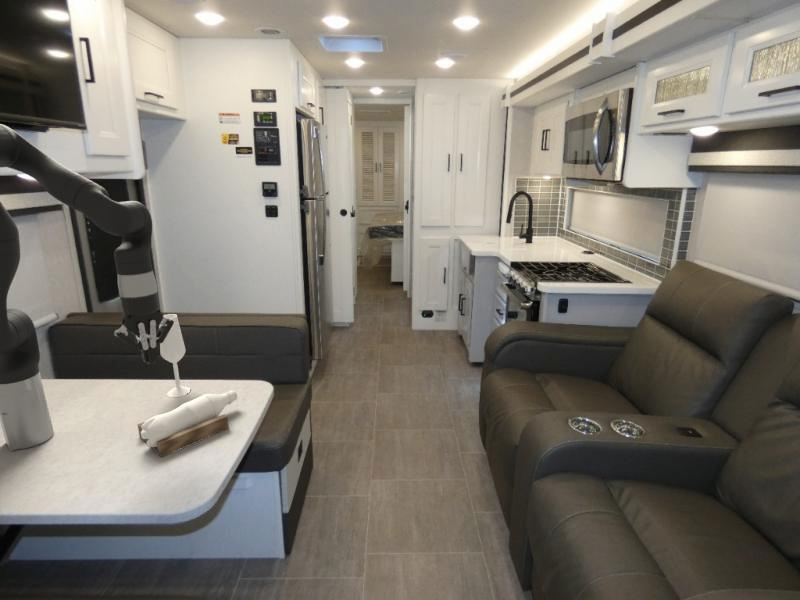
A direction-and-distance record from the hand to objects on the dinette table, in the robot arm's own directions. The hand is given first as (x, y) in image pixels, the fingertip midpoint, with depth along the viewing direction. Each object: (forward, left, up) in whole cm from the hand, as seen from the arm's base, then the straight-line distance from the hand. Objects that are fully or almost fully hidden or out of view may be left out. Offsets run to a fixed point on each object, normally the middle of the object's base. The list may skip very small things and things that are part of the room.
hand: (150, 362), depth 111 cm
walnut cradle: (+5, 0, -21) cm, 22 cm away
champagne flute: (+14, +24, -21) cm, 35 cm away
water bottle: (-4, -2, -17) cm, 18 cm away
